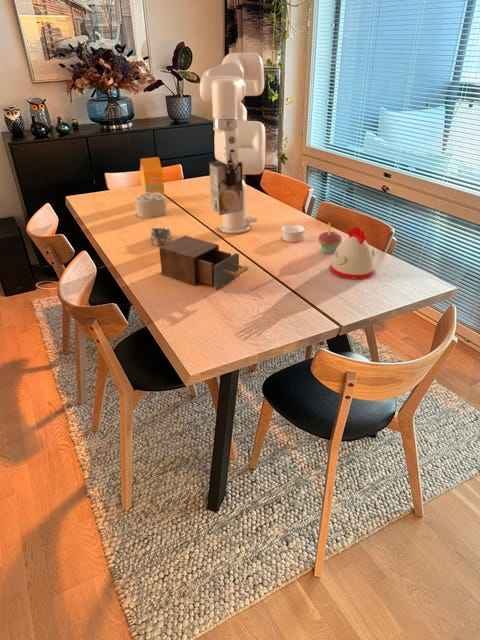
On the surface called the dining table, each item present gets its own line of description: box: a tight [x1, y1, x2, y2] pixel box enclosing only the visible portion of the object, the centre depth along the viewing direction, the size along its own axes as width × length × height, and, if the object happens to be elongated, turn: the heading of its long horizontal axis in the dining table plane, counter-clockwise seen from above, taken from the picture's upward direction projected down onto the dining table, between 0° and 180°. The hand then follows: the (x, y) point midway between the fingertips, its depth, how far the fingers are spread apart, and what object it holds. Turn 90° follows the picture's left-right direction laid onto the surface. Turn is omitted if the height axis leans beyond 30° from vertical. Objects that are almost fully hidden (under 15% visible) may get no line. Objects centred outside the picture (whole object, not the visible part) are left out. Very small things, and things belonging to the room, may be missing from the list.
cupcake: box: [318, 221, 343, 255], centre depth 165 cm, size 9×8×12 cm
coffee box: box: [208, 160, 243, 216], centre depth 152 cm, size 9×6×16 cm
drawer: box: [195, 249, 249, 290], centre depth 145 cm, size 19×11×8 cm, turn 54°
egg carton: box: [150, 227, 172, 247], centre depth 177 cm, size 11×8×4 cm
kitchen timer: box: [330, 226, 375, 280], centre depth 151 cm, size 14×14×15 cm
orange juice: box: [139, 156, 166, 197], centre depth 216 cm, size 8×9×20 cm
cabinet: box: [158, 235, 220, 286], centre depth 151 cm, size 15×13×10 cm
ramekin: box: [281, 224, 305, 243], centre depth 178 cm, size 9×9×4 cm
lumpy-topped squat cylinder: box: [135, 192, 169, 218], centre depth 203 cm, size 10×13×9 cm
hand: (226, 182), depth 151 cm, fingers closed on coffee box, 6 cm apart
